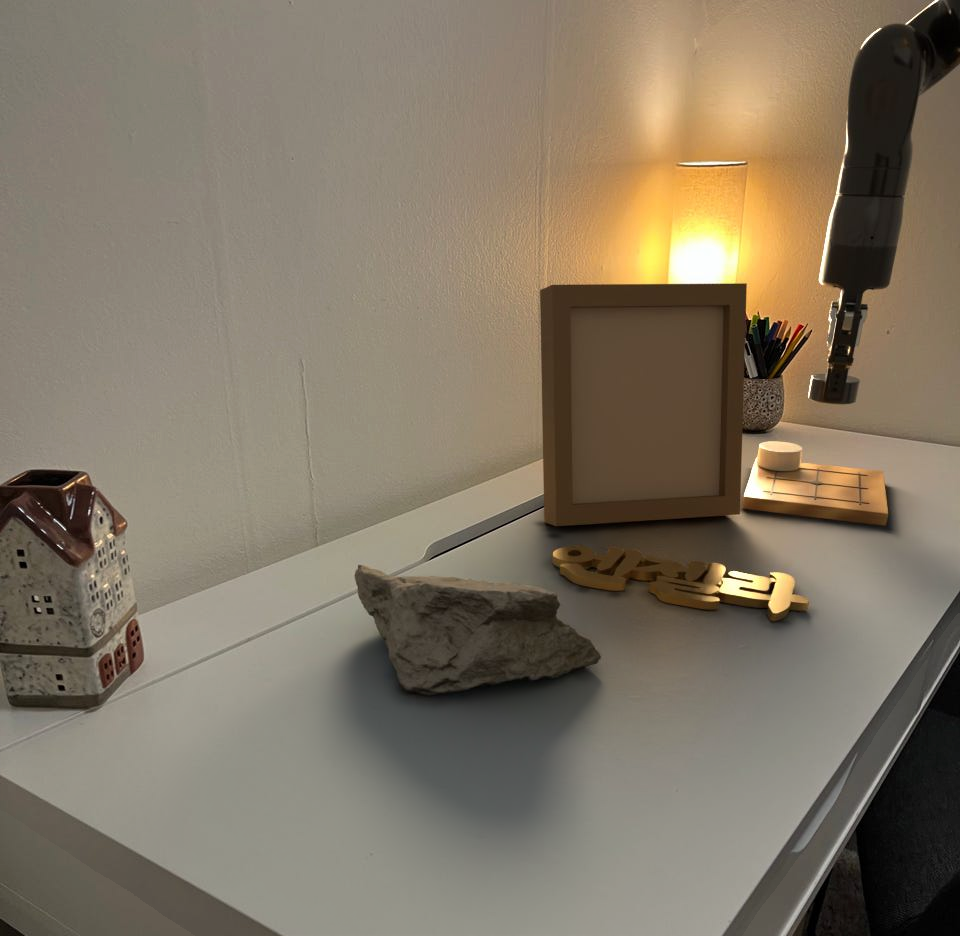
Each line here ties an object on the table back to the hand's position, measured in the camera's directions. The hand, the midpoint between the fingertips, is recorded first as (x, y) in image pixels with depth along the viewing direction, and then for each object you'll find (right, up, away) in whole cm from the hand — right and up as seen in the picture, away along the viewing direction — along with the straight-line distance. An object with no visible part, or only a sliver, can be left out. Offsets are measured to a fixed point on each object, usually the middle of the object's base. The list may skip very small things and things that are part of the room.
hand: (832, 395), depth 113 cm
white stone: (-3, -6, +12) cm, 13 cm away
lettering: (-23, -24, -21) cm, 39 cm away
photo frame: (-25, -13, 0) cm, 28 cm away
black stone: (0, 0, 0) cm, 0 cm away
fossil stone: (-43, -30, -35) cm, 64 cm away
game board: (0, -11, +6) cm, 12 cm away
